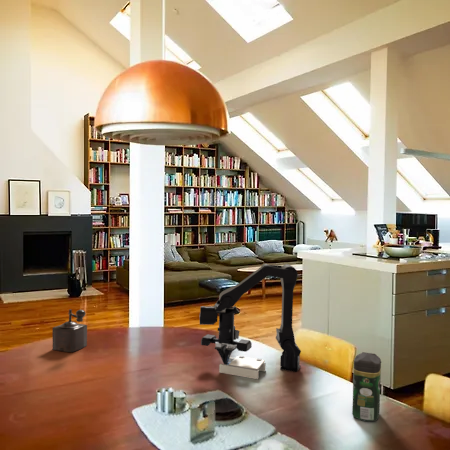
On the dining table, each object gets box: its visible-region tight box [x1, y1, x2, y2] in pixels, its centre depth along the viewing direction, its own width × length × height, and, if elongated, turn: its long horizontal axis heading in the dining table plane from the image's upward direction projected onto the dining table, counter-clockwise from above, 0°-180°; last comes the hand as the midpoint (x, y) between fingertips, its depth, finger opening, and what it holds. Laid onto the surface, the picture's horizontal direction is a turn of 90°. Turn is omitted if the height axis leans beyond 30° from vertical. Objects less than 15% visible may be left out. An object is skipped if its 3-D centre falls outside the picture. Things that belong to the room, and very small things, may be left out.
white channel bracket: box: [218, 356, 267, 380], centre depth 179 cm, size 15×9×3 cm, turn 67°
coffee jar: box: [351, 351, 382, 422], centre depth 145 cm, size 10×8×19 cm
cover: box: [229, 355, 266, 369], centre depth 179 cm, size 11×9×1 cm
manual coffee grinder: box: [51, 308, 88, 353], centre depth 202 cm, size 16×11×18 cm
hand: (225, 364), depth 182 cm, fingers closed
